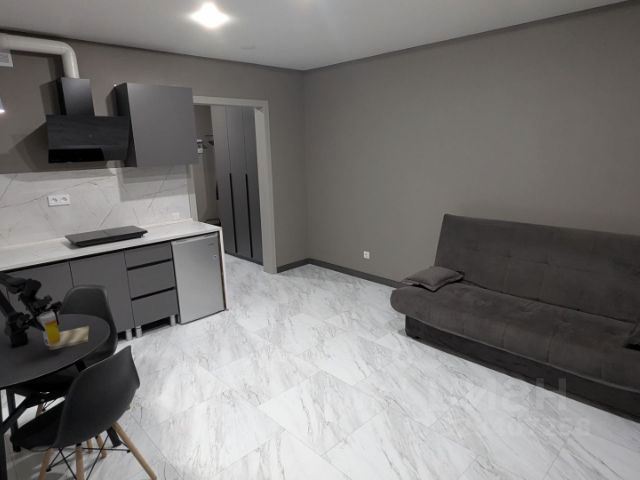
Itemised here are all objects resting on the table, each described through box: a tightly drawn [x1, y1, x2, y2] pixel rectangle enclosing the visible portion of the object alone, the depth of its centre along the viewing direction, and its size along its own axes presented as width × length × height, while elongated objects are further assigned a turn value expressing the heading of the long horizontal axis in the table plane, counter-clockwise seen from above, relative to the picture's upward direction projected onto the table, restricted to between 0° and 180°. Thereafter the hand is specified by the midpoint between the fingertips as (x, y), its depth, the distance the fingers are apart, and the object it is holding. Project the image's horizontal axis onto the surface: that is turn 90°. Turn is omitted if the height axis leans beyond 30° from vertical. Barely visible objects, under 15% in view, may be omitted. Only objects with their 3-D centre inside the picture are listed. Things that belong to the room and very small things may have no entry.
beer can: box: [38, 311, 61, 347], centre depth 185 cm, size 6×6×15 cm
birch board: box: [48, 325, 90, 351], centre depth 201 cm, size 16×16×2 cm
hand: (51, 327), depth 185 cm, fingers closed on beer can, 6 cm apart
